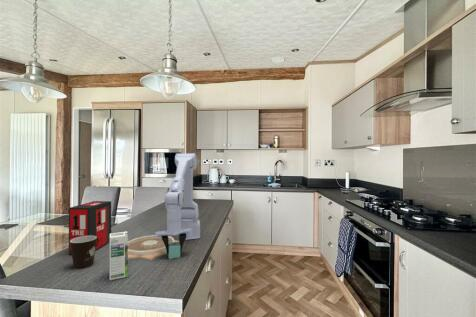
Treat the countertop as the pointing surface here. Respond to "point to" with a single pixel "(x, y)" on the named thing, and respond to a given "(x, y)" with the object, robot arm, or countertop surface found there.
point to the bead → (174, 250)
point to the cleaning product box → (91, 222)
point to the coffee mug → (83, 251)
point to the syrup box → (118, 255)
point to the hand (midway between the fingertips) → (173, 252)
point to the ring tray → (147, 247)
